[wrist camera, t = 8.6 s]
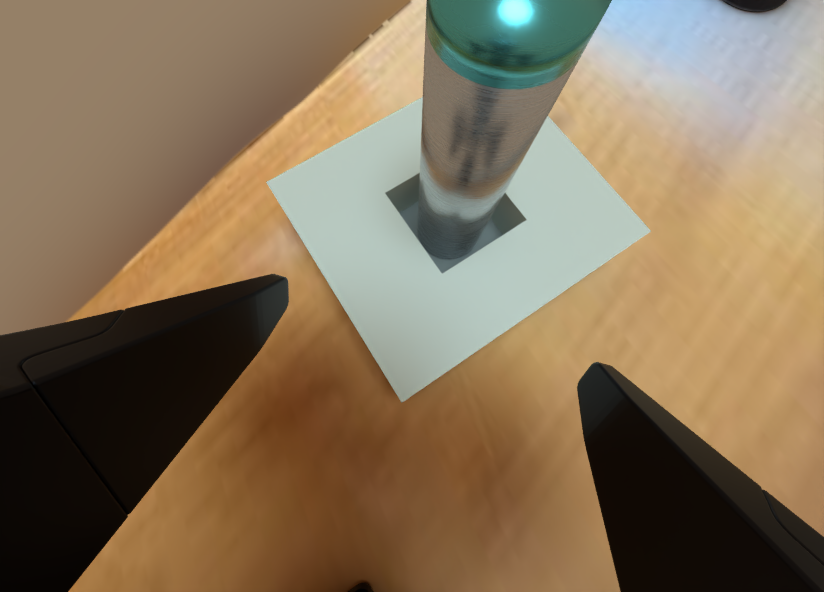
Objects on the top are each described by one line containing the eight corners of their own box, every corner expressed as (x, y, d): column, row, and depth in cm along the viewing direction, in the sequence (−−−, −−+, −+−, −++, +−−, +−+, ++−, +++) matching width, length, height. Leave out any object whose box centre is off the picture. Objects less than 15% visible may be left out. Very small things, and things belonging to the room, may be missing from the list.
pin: (459, 271, 18) (565, 75, 6) (405, 239, 19) (392, -8, 6) (489, 221, 19) (645, -53, 6) (437, 192, 20) (485, -118, 7)
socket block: (403, 393, 18) (401, 402, 14) (294, 216, 20) (266, 182, 16) (603, 256, 20) (651, 231, 16) (480, 110, 22) (495, 57, 18)
